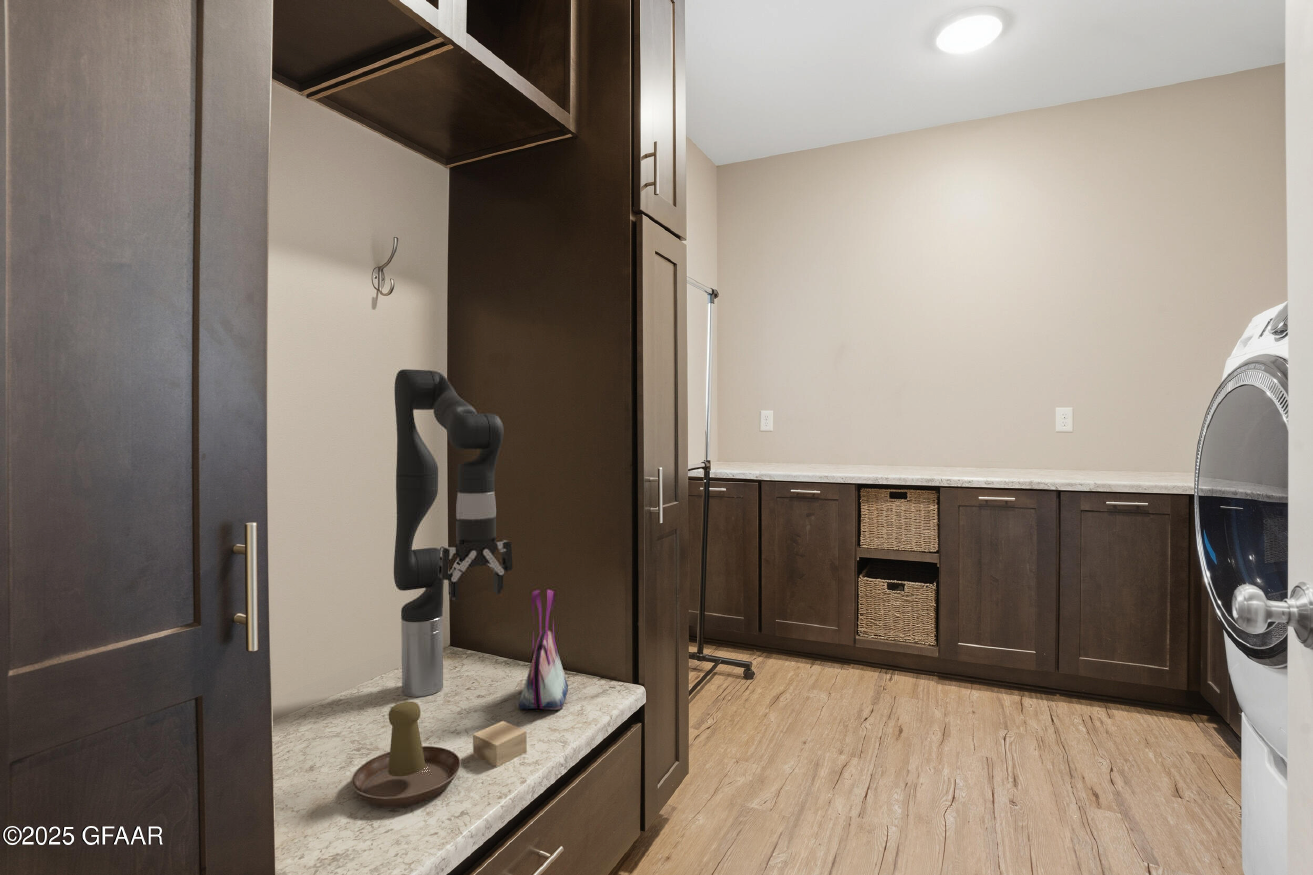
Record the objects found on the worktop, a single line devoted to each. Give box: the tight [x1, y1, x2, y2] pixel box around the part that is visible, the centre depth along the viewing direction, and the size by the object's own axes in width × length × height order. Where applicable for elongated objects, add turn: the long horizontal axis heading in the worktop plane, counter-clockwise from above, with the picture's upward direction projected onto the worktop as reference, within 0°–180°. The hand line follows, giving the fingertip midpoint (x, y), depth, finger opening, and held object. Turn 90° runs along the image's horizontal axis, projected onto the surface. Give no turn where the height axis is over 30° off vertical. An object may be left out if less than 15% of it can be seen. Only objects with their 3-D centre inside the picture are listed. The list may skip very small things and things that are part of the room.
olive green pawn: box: [388, 701, 425, 777], centre depth 113 cm, size 6×6×11 cm
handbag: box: [518, 589, 569, 711], centre depth 147 cm, size 21×10×25 cm, turn 1°
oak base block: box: [472, 720, 528, 768], centre depth 123 cm, size 7×7×4 cm
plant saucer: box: [350, 745, 462, 809], centre depth 113 cm, size 18×18×3 cm
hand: (476, 596), depth 128 cm, fingers open, 8 cm apart
